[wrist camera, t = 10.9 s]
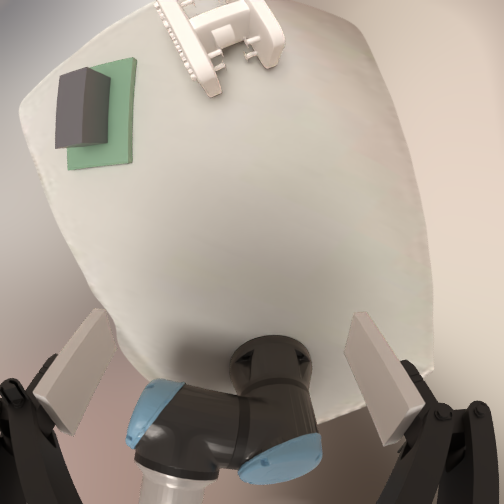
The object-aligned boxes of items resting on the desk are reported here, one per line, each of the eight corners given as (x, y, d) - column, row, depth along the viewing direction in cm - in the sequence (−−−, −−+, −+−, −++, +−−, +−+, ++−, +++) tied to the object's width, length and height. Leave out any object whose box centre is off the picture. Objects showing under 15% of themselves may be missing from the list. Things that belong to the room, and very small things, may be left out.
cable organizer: (279, 74, 31) (293, 44, 20) (208, 102, 33) (192, 82, 22) (235, -1, 26) (233, -44, 16) (169, 25, 28) (145, -11, 17)
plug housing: (107, 143, 32) (81, 143, 26) (82, 147, 32) (55, 148, 25) (110, 77, 29) (86, 66, 22) (85, 84, 28) (59, 75, 22)
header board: (132, 162, 35) (115, 164, 30) (72, 169, 35) (52, 173, 29) (136, 60, 29) (122, 49, 24) (76, 75, 29) (57, 68, 24)
